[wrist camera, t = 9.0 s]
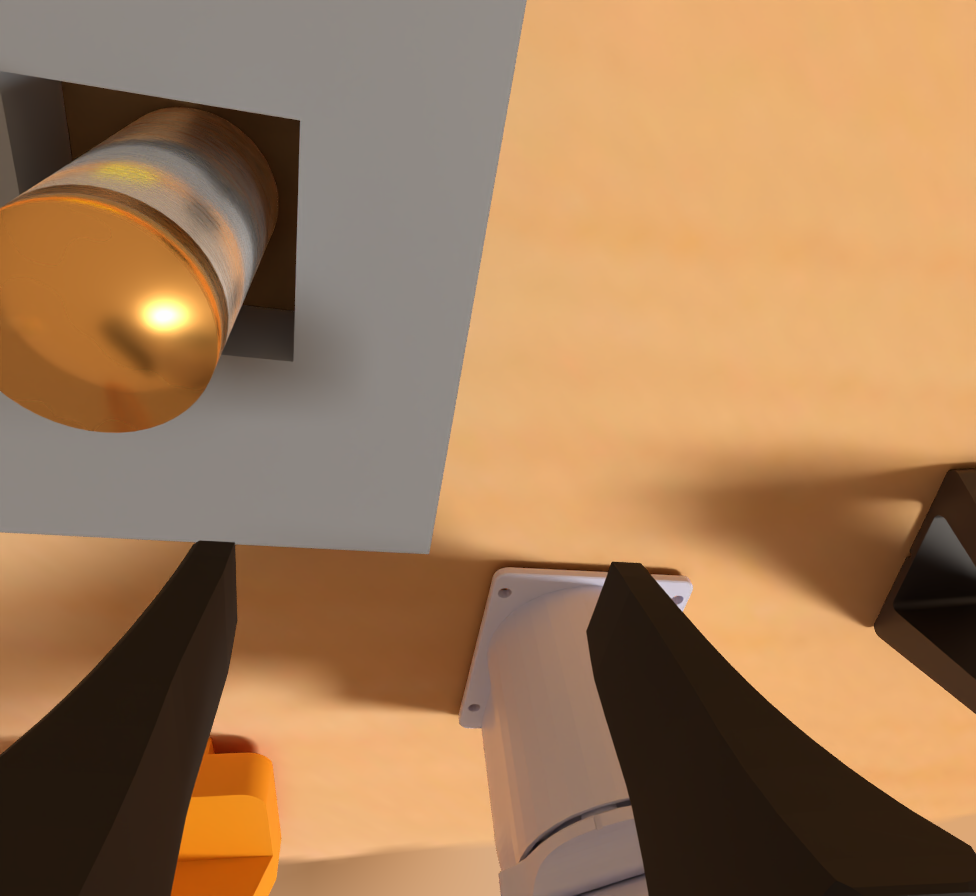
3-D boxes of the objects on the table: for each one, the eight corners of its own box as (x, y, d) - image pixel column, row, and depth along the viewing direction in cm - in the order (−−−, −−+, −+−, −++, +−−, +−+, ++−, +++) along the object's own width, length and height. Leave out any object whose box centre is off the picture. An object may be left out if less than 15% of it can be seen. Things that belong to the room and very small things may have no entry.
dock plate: (424, 493, 24) (429, 554, 22) (-33, 462, 21) (-87, 527, 19) (537, -200, 14) (566, -232, 12) (-282, -419, 12) (-461, -519, 9)
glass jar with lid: (278, 277, 19) (222, 440, 13) (121, 260, 19) (-23, 424, 12) (278, 120, 17) (210, 220, 11) (100, 94, 16) (-91, 184, 10)
